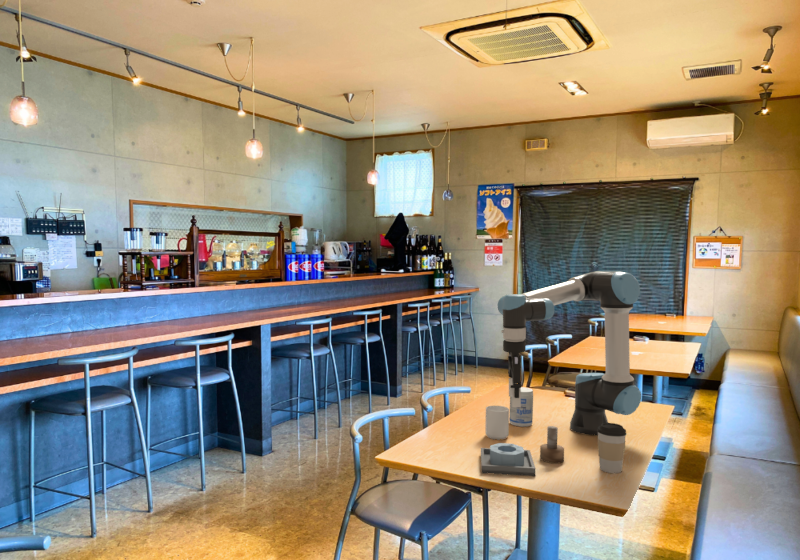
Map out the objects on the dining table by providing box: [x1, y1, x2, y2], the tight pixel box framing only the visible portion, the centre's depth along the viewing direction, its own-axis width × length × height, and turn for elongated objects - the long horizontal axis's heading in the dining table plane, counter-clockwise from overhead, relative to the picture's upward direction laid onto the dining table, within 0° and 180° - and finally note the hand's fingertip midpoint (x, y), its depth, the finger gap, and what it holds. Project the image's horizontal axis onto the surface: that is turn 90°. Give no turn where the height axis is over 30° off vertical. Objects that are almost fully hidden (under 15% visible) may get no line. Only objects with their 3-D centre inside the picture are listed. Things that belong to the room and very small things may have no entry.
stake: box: [539, 425, 565, 464], centre depth 194 cm, size 8×8×11 cm
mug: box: [485, 405, 510, 441], centre depth 219 cm, size 12×9×11 cm
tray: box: [480, 447, 536, 477], centre depth 188 cm, size 17×17×2 cm
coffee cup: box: [597, 422, 627, 474], centre depth 185 cm, size 9×9×15 cm
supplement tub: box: [509, 386, 534, 428], centre depth 235 cm, size 10×10×15 cm
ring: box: [489, 442, 525, 466], centre depth 188 cm, size 11×11×4 cm
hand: (514, 401), depth 192 cm, fingers open, 13 cm apart
